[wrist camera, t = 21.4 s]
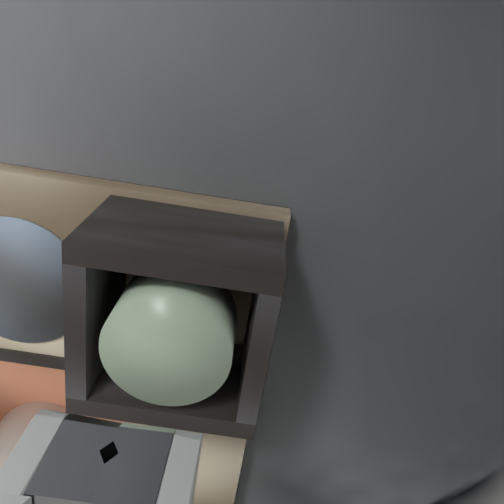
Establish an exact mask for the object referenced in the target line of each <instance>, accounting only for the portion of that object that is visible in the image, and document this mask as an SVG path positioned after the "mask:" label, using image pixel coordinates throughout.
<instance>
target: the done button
mask: <svg viewBox="0 0 504 504" xmlns="http://www.w3.org/2000/svg"><path fill="white" fill-rule="evenodd" d="M236 326H237V308H236V304H235V301H234V298H233V296H232V294H231V293H230V291H229V290H228V289H225V288H218V287H212V286H205V285H198V284H192V283H185V282H179V281H172V280H166V279H159V278H152V277H146V276H139V275H136V276H134V277H133V279H132V280H131V281H130V282H129V283H128V285H127V286H126V288H125V290H124V291H123V293H122V295H121V296H120V298H119V300H118V302H117V303H116V305H115V307H114V308H113V310H112V312H111V313H110V315H109V317H108V318H107V320H106V322H105V324H104V325H103V328H102V330H101V333H100V337H99V354H100V359H101V362H102V364H103V367H104V368H105V370H106V372H107V374H108V375H109V376H110V378H111V379H112V380H113V381H114V382H115V383H116V384H117V385H118V386H119V387H120V388H121V389H122V390H124V391H125V392H127V393H128V394H130V395H132V396H133V397H135V398H137V399H140V400H142V401H145V402H148V403H151V404H155V405H161V406H184V405H189V404H194V403H197V402H199V401H202V400H204V399H206V398H208V397H209V396H211V395H212V394H214V393H215V392H216V391H217V390H218V389H219V388H220V387H221V386H222V385H223V384H224V382H225V381H226V379H227V377H228V375H229V372H230V369H231V365H232V358H233V350H234V342H235V334H236Z"/></svg>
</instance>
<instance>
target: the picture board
mask: <svg viewBox="0 0 504 504" xmlns="http://www.w3.org/2000/svg"><path fill="white" fill-rule="evenodd" d="M290 219H291V213H290V208H284V207H277V206H271V205H264V204H258V203H252V202H245V201H239V200H233V199H226V198H220V197H214V196H207V195H201V194H195V193H188V192H182V191H175V190H169V189H163V188H156V187H150V186H144V185H137V184H131V183H125V182H118V181H112V180H106V179H99V178H93V177H87V176H80V175H74V174H67V173H61V172H55V171H48V170H42V169H36V168H29V167H23V166H17V165H10V164H4V163H0V422H1V420H2V419H3V418H4V416H5V415H6V414H7V413H8V412H9V411H11V410H12V409H14V408H15V407H17V406H20V405H23V404H27V403H33V402H48V403H54V404H59V405H62V406H65V407H66V413H68V414H69V413H70V414H75V415H81V416H86V417H92V418H98V419H103V420H109V421H114V422H120V423H123V422H126V423H134V424H141V425H148V426H155V427H163V428H170V429H176V430H181V431H188V432H194V433H201V434H203V440H202V447H201V454H200V460H199V467H198V474H197V481H196V487H195V494H194V501H193V504H234V501H235V496H236V490H237V485H238V480H239V475H240V470H241V465H242V460H243V455H244V450H245V445H246V440H247V439H248V440H253V438H254V433H255V428H256V423H257V418H258V413H259V409H260V404H261V399H262V394H263V389H264V384H265V380H266V375H267V370H268V365H269V360H270V355H271V351H272V346H273V341H274V336H275V331H276V326H277V322H278V317H279V312H280V307H281V302H282V297H283V293H284V288H285V283H286V278H287V272H286V254H285V244H286V239H287V234H288V229H289V224H290ZM136 275H139V276H146V277H152V278H159V279H166V280H172V281H179V282H185V283H192V284H198V285H205V286H212V287H218V288H225V289H228V290H229V291H230V293H231V294H232V296H233V298H234V301H235V304H236V308H237V326H236V334H235V342H234V350H233V358H232V365H231V369H230V372H229V375H228V377H227V379H226V381H225V382H224V384H223V385H222V386H221V387H220V388H219V389H218V390H217V391H216V392H215V393H214V394H212V395H211V396H209V397H208V398H206V399H204V400H202V401H199V402H197V403H194V404H189V405H184V406H161V405H155V404H151V403H148V402H145V401H142V400H140V399H137V398H135V397H133V396H132V395H130V394H128V393H127V392H125V391H124V390H122V389H121V388H120V387H119V386H118V385H117V384H116V383H115V382H114V381H113V380H112V379H111V378H110V376H109V375H108V374H107V372H106V370H105V368H104V367H103V364H102V362H101V359H100V354H99V337H100V333H101V330H102V328H103V325H104V324H105V322H106V320H107V318H108V317H109V315H110V313H111V312H112V310H113V308H114V307H115V305H116V303H117V302H118V300H119V298H120V296H121V295H122V293H123V291H124V290H125V288H126V286H127V285H128V283H129V282H130V281H131V280H132V279H133V277H134V276H136Z"/></svg>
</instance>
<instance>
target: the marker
mask: <svg viewBox="0 0 504 504" xmlns="http://www.w3.org/2000/svg"><path fill="white" fill-rule="evenodd" d="M41 409H44V410H50V411H56V412H62V413H66V407H65V406H62V405H59V404H54V403H48V402H33V403H27V404H23V405H20V406H17V407H15V408H14V409H12V410H11V411H9V412H8V413H7V414H6V415H5V416H4V418H3V419H2V420H1V422H0V470H1V468H2V466H3V465H4V463H5V462H6V460H7V458H8V457H9V455H10V454H11V452H12V450H13V449H14V447H15V446H16V444H17V442H18V441H19V439H20V437H21V436H22V434H23V433H24V431H25V429H26V428H27V426H28V425H29V423H30V421H31V420H32V418H33V417H34V416H35V415H36V414H37V413H38V412H39V411H40V410H41Z"/></svg>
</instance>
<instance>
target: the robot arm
mask: <svg viewBox="0 0 504 504" xmlns="http://www.w3.org/2000/svg"><path fill="white" fill-rule="evenodd" d="M202 440H203V434H201V433H194V432H188V431H181V430H176V429H170V428H163V427H155V426H148V425H141V424H134V423H126V422H123V423H120V422H114V421H109V420H103V419H98V418H92V417H86V416H81V415H75V414H70V413H69V414H68V413H62V412H56V411H50V410H44V409H41V410H40V411H39V412H38V413H37V414H36V415H35V416H34V417H33V418H32V420H31V421H30V423H29V425H28V426H27V428H26V429H25V431H24V433H23V434H22V436H21V437H20V439H19V441H18V442H17V444H16V446H15V447H14V449H13V450H12V452H11V454H10V455H9V457H8V458H7V460H6V462H5V463H4V465H3V466H2V468H1V470H0V504H193V501H194V494H195V487H196V481H197V474H198V467H199V460H200V454H201V447H202Z"/></svg>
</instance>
